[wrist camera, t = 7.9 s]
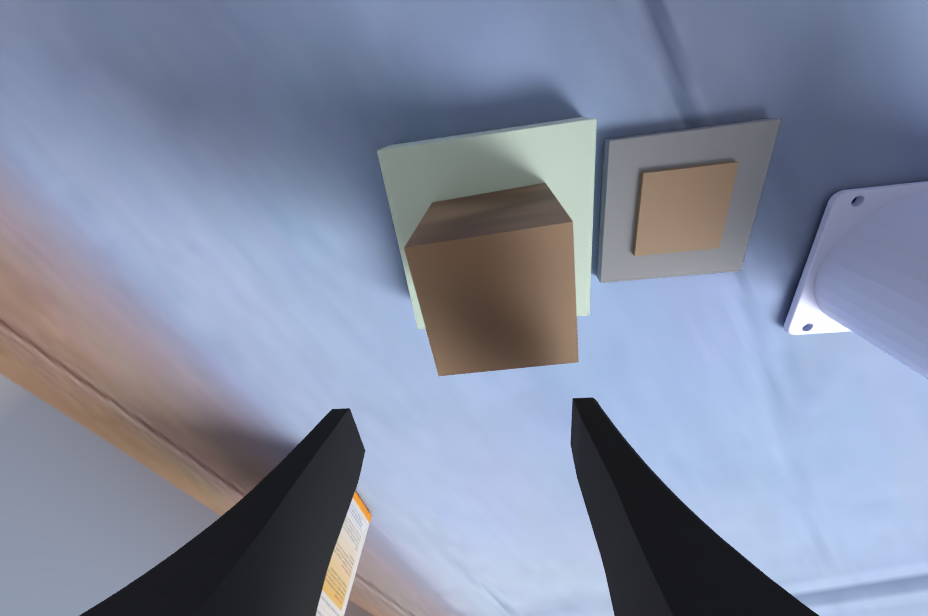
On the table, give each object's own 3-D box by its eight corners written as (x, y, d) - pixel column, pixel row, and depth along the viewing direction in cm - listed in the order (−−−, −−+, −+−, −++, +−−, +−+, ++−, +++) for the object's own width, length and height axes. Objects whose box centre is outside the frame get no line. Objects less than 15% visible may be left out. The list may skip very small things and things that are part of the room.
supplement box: (284, 464, 30) (159, 684, 19) (337, 457, 29) (240, 683, 18) (326, 520, 34) (244, 732, 22) (374, 516, 33) (313, 734, 22)
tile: (768, 118, 16) (786, 119, 15) (731, 264, 19) (744, 273, 18) (604, 139, 17) (611, 141, 16) (596, 276, 20) (602, 285, 19)
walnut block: (545, 182, 15) (572, 221, 10) (553, 287, 18) (578, 362, 13) (432, 202, 16) (403, 247, 11) (453, 300, 18) (438, 376, 13)
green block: (580, 116, 17) (596, 118, 14) (576, 289, 21) (589, 315, 18) (393, 144, 18) (376, 150, 15) (426, 302, 22) (418, 329, 20)
